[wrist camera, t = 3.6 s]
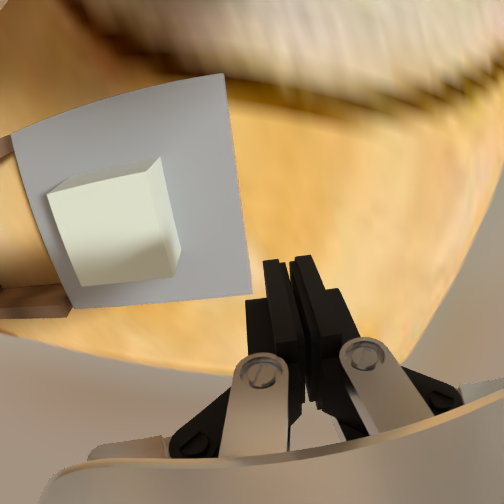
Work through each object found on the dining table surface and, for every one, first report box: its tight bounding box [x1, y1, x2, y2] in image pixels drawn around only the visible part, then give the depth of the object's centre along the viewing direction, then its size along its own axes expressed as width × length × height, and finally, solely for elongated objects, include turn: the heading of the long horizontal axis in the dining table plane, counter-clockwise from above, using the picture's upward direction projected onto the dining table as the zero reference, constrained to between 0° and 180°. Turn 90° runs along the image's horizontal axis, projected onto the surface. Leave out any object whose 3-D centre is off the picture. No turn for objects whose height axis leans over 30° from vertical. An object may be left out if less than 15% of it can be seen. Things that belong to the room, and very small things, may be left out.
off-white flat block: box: [47, 156, 181, 287], centre depth 17 cm, size 6×6×3 cm
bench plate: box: [10, 73, 253, 309], centre depth 19 cm, size 14×14×2 cm
